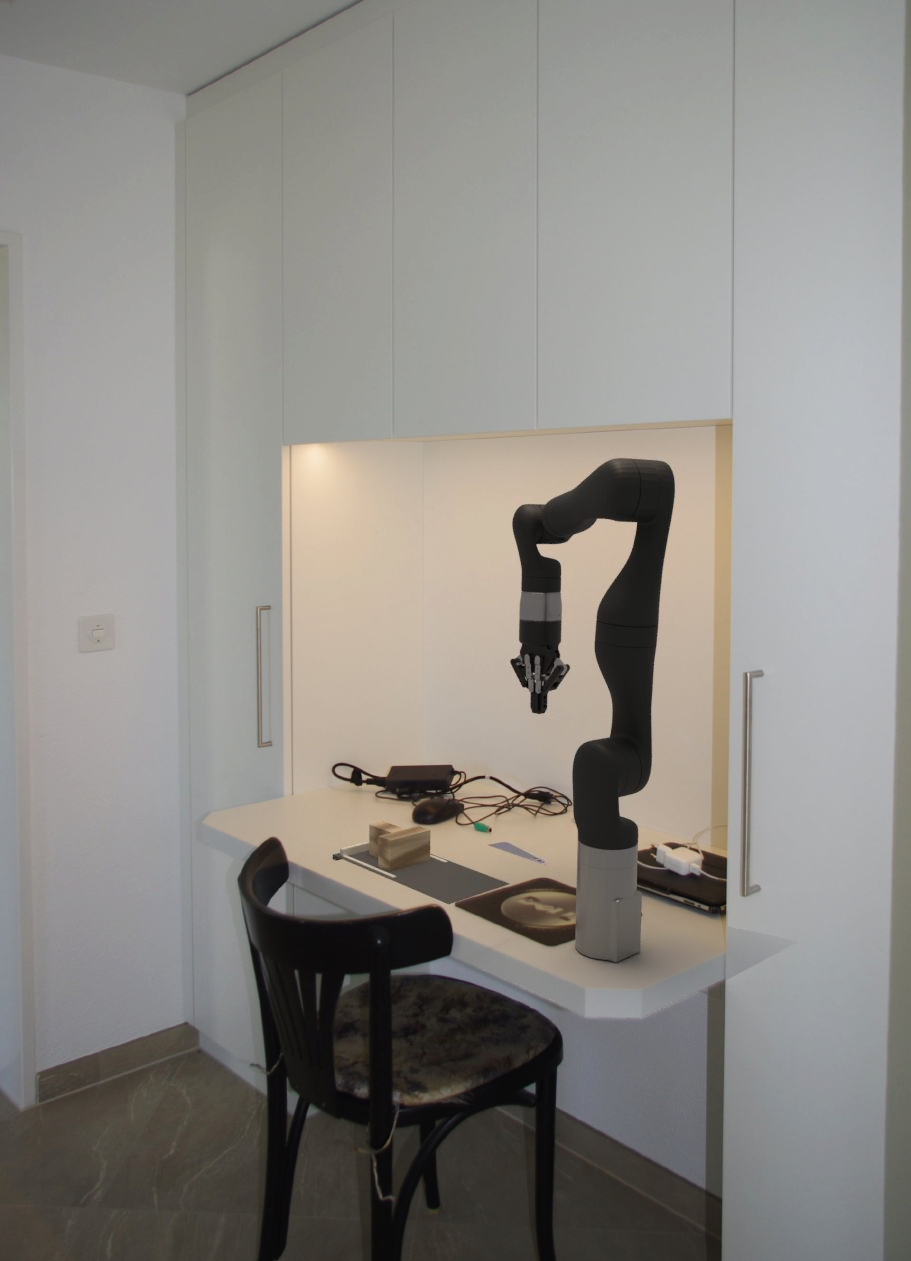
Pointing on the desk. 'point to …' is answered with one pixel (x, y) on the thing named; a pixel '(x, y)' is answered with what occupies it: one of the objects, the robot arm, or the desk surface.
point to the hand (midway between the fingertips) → (538, 712)
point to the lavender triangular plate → (516, 851)
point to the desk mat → (426, 875)
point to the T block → (398, 845)
